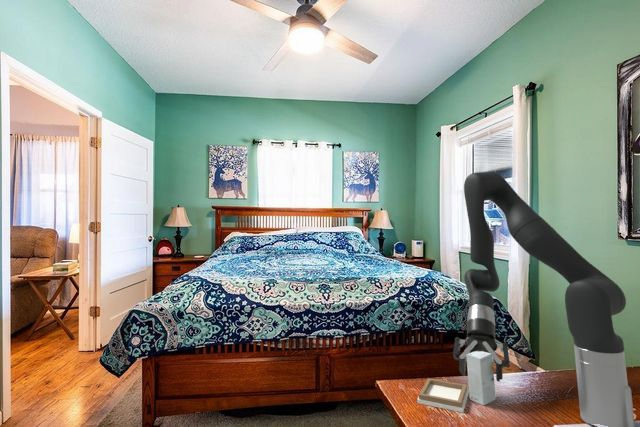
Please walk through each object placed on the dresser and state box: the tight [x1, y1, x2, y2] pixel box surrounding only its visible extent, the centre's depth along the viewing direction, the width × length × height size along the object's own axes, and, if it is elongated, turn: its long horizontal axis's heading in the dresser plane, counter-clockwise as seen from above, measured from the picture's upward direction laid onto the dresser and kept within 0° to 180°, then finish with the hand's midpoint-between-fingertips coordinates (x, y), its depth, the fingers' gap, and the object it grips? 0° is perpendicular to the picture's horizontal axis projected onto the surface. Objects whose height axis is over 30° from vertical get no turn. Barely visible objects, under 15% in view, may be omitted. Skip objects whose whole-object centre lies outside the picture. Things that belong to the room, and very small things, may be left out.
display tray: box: [417, 377, 469, 414], centre depth 93 cm, size 12×12×2 cm
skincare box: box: [466, 351, 497, 406], centre depth 91 cm, size 6×4×12 cm
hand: (480, 377), depth 91 cm, fingers open, 8 cm apart
